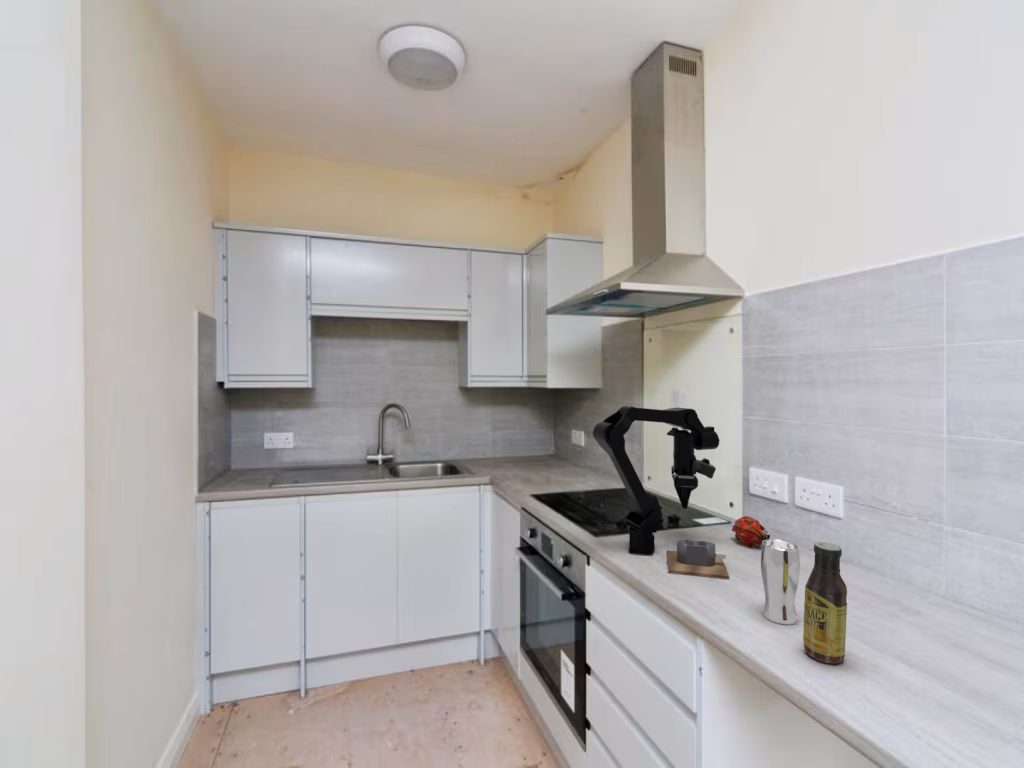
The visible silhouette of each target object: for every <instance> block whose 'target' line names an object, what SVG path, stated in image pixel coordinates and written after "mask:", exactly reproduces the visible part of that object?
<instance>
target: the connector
mask: <svg viewBox="0 0 1024 768" xmlns="http://www.w3.org/2000/svg"><path fill="white" fill-rule="evenodd" d="M676 551H677V561H678V562H679V563H681V564H687V565H697V566H707V567H712V566H715V557H716V558H722V559H723V560H724V559H725V560H726V559H727V554H726V552H724V551H717V550H716V544H715V543H713V542H712V541H711V542H710V541H706V540H705V541H704V540H693V539H678V540H676Z"/></svg>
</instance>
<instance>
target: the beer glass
mask: <svg viewBox="0 0 1024 768" xmlns="http://www.w3.org/2000/svg"><path fill="white" fill-rule="evenodd" d="M760 551H761V554H760V570H761V578H762V584H763V588H764V595H765V596H764V597H765V598H764V599H765V600H764V606H763V611H762V614H763V615H762V616H764V618H766V619H767V620H769V621H771V622H773V623H775V624H780V625H785V626H786V625H788V626H790V625H791V626H792V625H794V624H796V623H797V621H798V617H797V613H796V605H795V603H796V601H795V600H796V595H797V591H798V586H799V581H800V575H801V574H800V571H801V565H800V564H801V563H800V561H801V560H800V552H799V551H800V550H799V546H798V545H797V544H796V543H794V542H791V541H789V540H788V541H787V540H783V539H775V538H769V539H768V540H764V541H762V545H761V550H760Z"/></svg>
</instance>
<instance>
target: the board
mask: <svg viewBox="0 0 1024 768" xmlns="http://www.w3.org/2000/svg"><path fill="white" fill-rule="evenodd" d="M666 559H667V568H668V569H667V570H669V571H668V574H673V575H674V574H675V575H683V576H694V577H702V578H703V577H704V578H714V579H720V580H721V579H722V580H730V575H729V572H728V569H727V567H726V564H725V562H724V559H723V558H716V557H715V566H712V567H707V566H697V565H687V564H681V563H679V562H678V561H677V550H669V549H668V550H666Z"/></svg>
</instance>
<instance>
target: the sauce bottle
mask: <svg viewBox="0 0 1024 768" xmlns="http://www.w3.org/2000/svg"><path fill="white" fill-rule="evenodd" d="M813 552H814V564H813V567H812V569H811V572H810V574H809V576H808V579H807V581H806V584H805V586H804V603H803V605H804V606H803V609H804V611H803V631H802V632H803V635H802V642H803V649H804V651H805V653H806V654H807V655H808V656H809V657H811V658H813V659H815V660H817V661H818V662H820V663H824V664H833V665H836V664H840V663H842V662H843V661H844V659H845V654H846V653H845V652H846V640H847V639H846V637H847V636H846V635H847V614H848V613H847V612H848V610H847V609H848V602H847V597H848V595H847V594H848V588H847V587H848V586H847V584H846V583H845V581H844V579H843V577H842V576H841V569H840V568H841V567H840V566H841V558H842V555H843V551H842V547H841V546H840V545H838V544H836V543H831V542H826V541H816V542H815V543H814V545H813Z"/></svg>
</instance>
